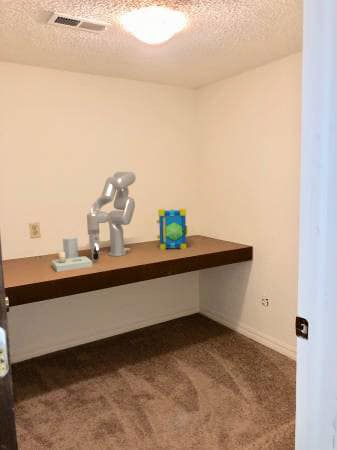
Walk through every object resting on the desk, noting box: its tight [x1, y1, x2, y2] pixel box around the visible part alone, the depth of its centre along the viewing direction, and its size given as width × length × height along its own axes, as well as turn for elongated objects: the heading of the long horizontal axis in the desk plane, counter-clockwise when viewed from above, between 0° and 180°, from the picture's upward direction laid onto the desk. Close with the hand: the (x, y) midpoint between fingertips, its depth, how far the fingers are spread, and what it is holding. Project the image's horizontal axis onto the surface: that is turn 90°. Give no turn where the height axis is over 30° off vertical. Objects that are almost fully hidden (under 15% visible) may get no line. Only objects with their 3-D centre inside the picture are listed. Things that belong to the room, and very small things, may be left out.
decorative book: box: [156, 207, 188, 251], centre depth 277 cm, size 14×23×30 cm, turn 89°
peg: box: [90, 248, 99, 264], centre depth 243 cm, size 4×4×10 cm
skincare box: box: [62, 236, 79, 259], centre depth 252 cm, size 8×6×15 cm
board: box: [51, 251, 93, 273], centre depth 233 cm, size 22×16×10 cm
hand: (95, 258), depth 244 cm, fingers closed on peg, 4 cm apart
